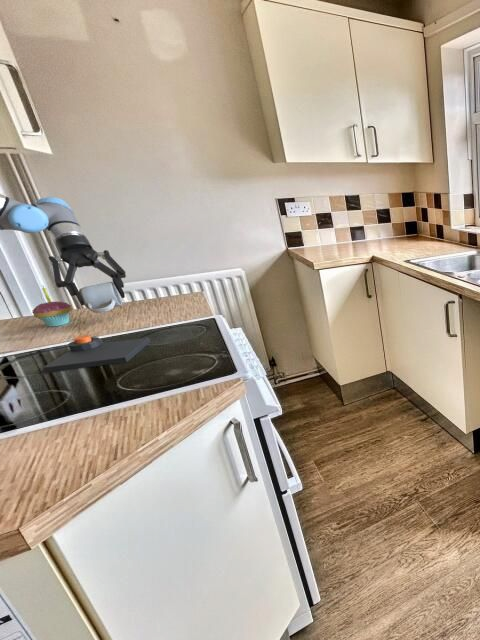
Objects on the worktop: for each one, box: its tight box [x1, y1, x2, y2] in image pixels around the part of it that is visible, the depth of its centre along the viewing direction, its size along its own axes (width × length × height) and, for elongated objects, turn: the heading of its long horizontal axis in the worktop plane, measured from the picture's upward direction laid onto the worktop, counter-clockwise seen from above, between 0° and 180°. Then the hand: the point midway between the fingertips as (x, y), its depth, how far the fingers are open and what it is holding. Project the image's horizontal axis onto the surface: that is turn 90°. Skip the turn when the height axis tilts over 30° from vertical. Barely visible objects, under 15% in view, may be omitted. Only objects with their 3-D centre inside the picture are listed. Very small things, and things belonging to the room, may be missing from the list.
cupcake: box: [31, 285, 74, 328], centre depth 129 cm, size 9×8×12 cm
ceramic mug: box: [78, 281, 123, 314], centre depth 131 cm, size 11×8×8 cm
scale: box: [42, 336, 152, 374], centre depth 108 cm, size 16×15×3 cm
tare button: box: [73, 334, 92, 344], centre depth 109 cm, size 3×3×2 cm
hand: (103, 298), depth 129 cm, fingers closed on ceramic mug, 9 cm apart
